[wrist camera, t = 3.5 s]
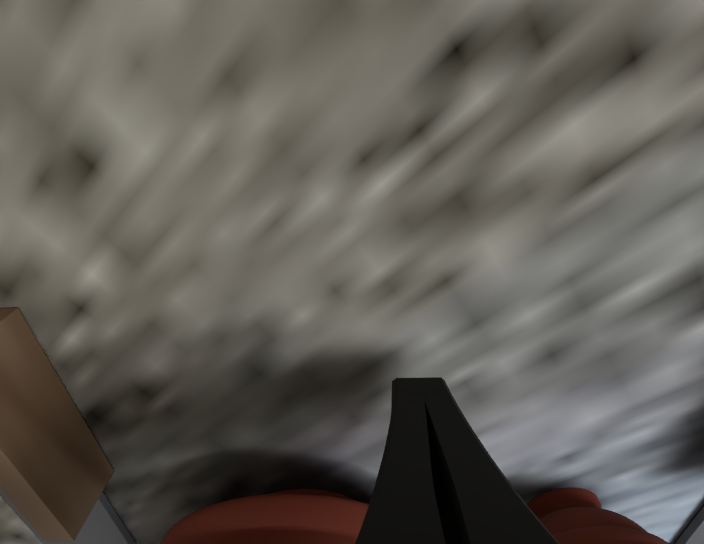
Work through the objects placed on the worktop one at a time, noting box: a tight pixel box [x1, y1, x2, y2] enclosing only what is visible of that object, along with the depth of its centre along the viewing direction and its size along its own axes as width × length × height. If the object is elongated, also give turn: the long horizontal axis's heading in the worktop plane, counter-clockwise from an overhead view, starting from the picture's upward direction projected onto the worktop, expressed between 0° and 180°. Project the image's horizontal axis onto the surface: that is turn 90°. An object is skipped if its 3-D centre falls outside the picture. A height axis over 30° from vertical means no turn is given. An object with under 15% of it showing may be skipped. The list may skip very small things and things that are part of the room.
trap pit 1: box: [0, 489, 136, 544], centre depth 17 cm, size 4×6×1 cm, turn 2°
